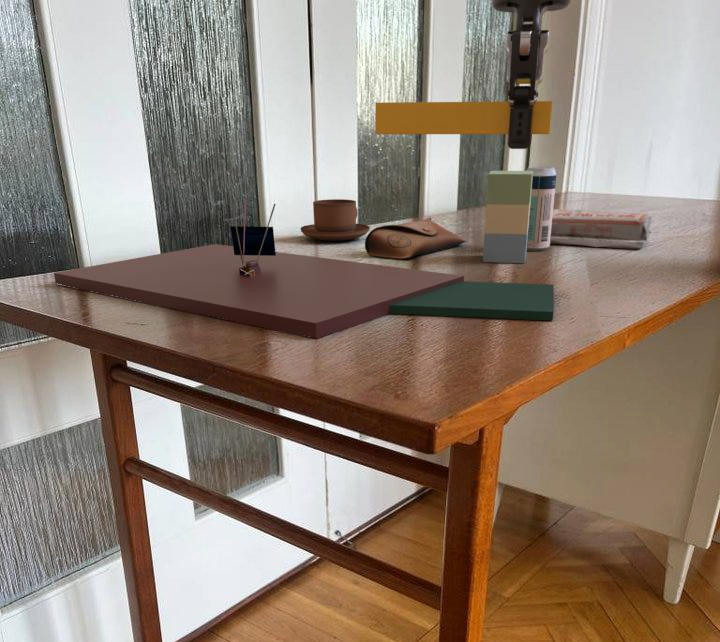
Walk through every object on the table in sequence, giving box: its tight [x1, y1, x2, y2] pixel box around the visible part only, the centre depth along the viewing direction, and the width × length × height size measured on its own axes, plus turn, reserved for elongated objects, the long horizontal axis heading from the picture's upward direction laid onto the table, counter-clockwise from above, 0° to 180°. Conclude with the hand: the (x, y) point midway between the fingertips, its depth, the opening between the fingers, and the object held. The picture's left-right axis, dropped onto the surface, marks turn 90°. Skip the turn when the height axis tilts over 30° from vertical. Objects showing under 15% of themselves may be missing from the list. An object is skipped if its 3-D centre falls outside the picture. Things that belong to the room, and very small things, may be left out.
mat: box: [389, 280, 555, 321], centre depth 87 cm, size 22×14×1 cm, turn 77°
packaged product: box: [550, 208, 652, 250], centre depth 124 cm, size 18×5×10 cm
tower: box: [482, 170, 533, 264], centre depth 109 cm, size 6×6×12 cm
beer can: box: [525, 166, 557, 252], centre depth 117 cm, size 5×5×12 cm
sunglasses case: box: [364, 216, 467, 260], centre depth 120 cm, size 18×7×7 cm
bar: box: [374, 100, 554, 135], centre depth 79 cm, size 18×4×3 cm, turn 77°
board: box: [53, 198, 465, 339], centre depth 94 cm, size 45×28×10 cm, turn 52°
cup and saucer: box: [300, 198, 371, 242], centre depth 130 cm, size 12×12×6 cm
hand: (519, 146), depth 79 cm, fingers closed on bar, 4 cm apart
